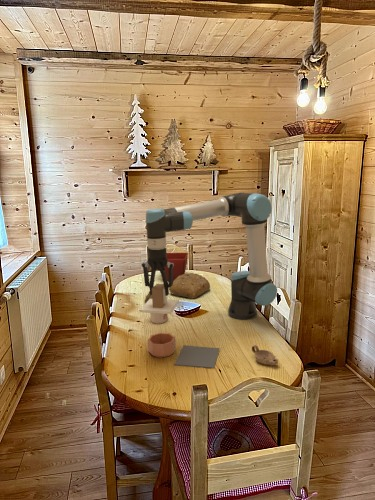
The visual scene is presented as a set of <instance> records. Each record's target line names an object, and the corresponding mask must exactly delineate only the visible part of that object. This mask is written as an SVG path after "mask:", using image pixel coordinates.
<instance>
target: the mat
mask: <svg viewBox="0 0 375 500" xmlns="http://www.w3.org/2000/svg"><path fill="white" fill-rule="evenodd" d="M219 352H220V347H211V346H199V345H184V344H183V345H182V347H181V349H180V351H179V353H178V354H177V355H178V356H177V358H176V360H175V362H174V366H179V367H189V366H190V367H193V368H200V367H203V368H202V369H211V368H214V369H215V367H214V366H216V362H217V359H218V356H219Z"/></svg>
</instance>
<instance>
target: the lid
mask: <svg viewBox="0 0 375 500" xmlns="http://www.w3.org/2000/svg"><path fill="white" fill-rule="evenodd" d="M163 288H164V284H163V283H156V284H154V287H153V288H152V299H149V300H148V301H147V303H146V304H145V303H144V305H143V306H141V308H140V309H139V313H149V314H151V313H163V314H167V315H172V313H173V312H174V310H175V309H176V307H177V305H178V304H179V302H180V301H179V300H180V299H168V298H167V302H166V304H164V303H163Z"/></svg>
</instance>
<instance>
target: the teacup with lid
mask: <svg viewBox="0 0 375 500" xmlns="http://www.w3.org/2000/svg"><path fill="white" fill-rule="evenodd" d="M150 321H151V322H152V323H153V324H163V323H166V322H168V314H163V313H150Z"/></svg>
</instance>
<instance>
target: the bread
mask: <svg viewBox="0 0 375 500" xmlns="http://www.w3.org/2000/svg"><path fill="white" fill-rule="evenodd" d="M210 288H211V283H210V282H209V280H208V279H207V278H206V277H204V276H203V275H201V274H198V273H194V272H189V273H185V274H183V275H181V276H178V277H177V278H176V279H175V280H174V281H173V285H172V286H171V287H169V293H170V294H172V295H175V296H177V297H182V298H183V297H184V298H188V299H196V298H198V297H199V296H202V294H204V293H205V292H208V291H209V290H210Z"/></svg>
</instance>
